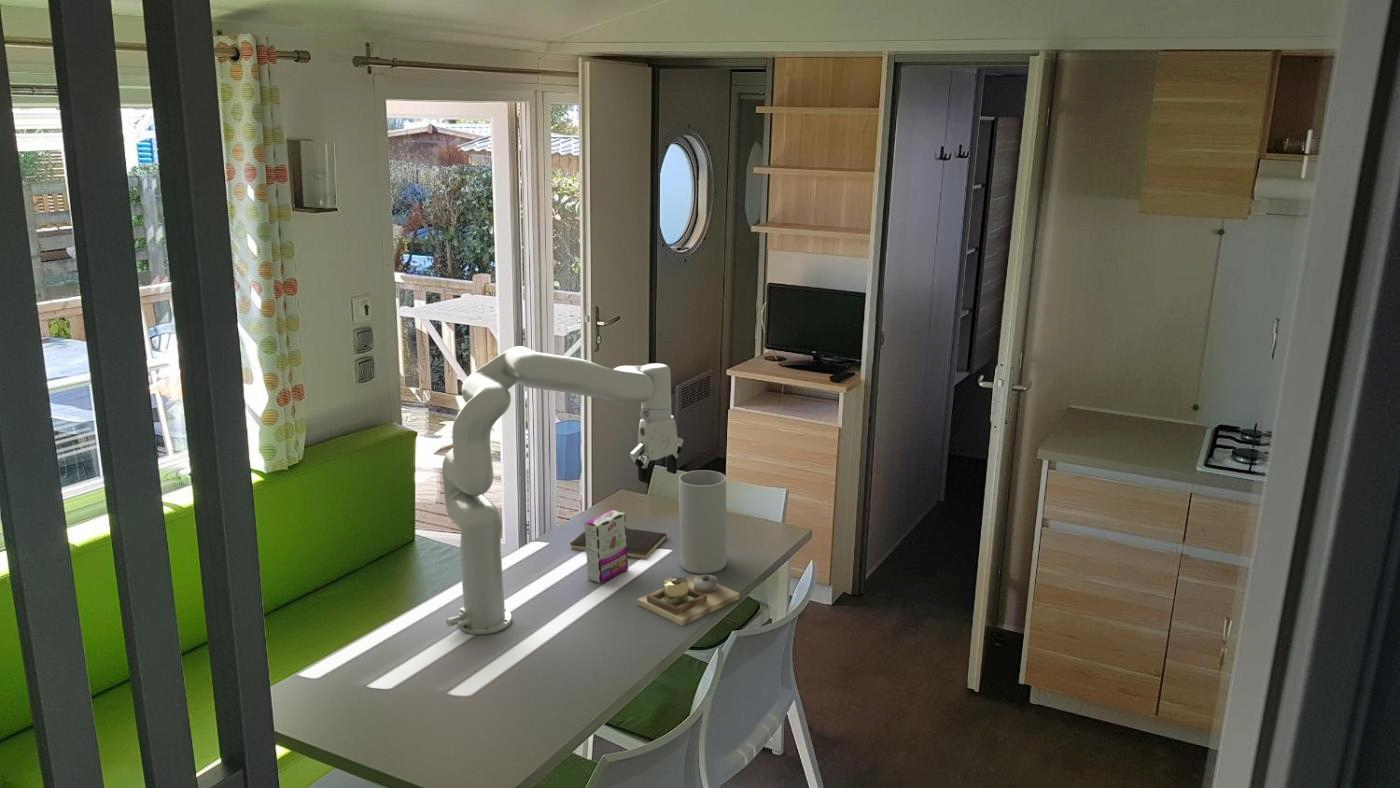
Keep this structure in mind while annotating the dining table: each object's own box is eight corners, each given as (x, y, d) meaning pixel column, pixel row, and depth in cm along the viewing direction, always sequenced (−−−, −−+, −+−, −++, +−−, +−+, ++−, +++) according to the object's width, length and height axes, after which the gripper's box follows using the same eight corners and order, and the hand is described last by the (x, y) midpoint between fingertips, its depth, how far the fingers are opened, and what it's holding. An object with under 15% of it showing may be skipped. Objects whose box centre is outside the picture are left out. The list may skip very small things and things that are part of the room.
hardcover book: (645, 561, 283) (645, 553, 283) (570, 551, 291) (569, 543, 290) (666, 539, 298) (666, 532, 297) (594, 530, 306) (594, 523, 305)
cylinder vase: (700, 552, 288) (699, 467, 281) (735, 563, 280) (735, 476, 274) (670, 566, 278) (669, 479, 272) (706, 579, 271) (705, 489, 264)
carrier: (681, 625, 246) (681, 607, 245) (637, 604, 257) (637, 586, 256) (739, 598, 259) (739, 581, 258) (695, 579, 270) (694, 562, 269)
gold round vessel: (676, 608, 251) (675, 586, 249) (659, 600, 255) (658, 579, 253) (693, 600, 255) (693, 578, 253) (676, 593, 259) (676, 571, 258)
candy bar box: (614, 565, 280) (612, 508, 276) (628, 570, 277) (626, 512, 273) (586, 579, 271) (583, 521, 267) (600, 584, 268) (597, 525, 264)
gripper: (640, 422, 251) (642, 489, 256) (691, 408, 263) (692, 472, 267) (620, 416, 256) (622, 482, 261) (671, 403, 268) (672, 466, 272)
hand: (657, 477), depth 264 cm, fingers open, 9 cm apart
